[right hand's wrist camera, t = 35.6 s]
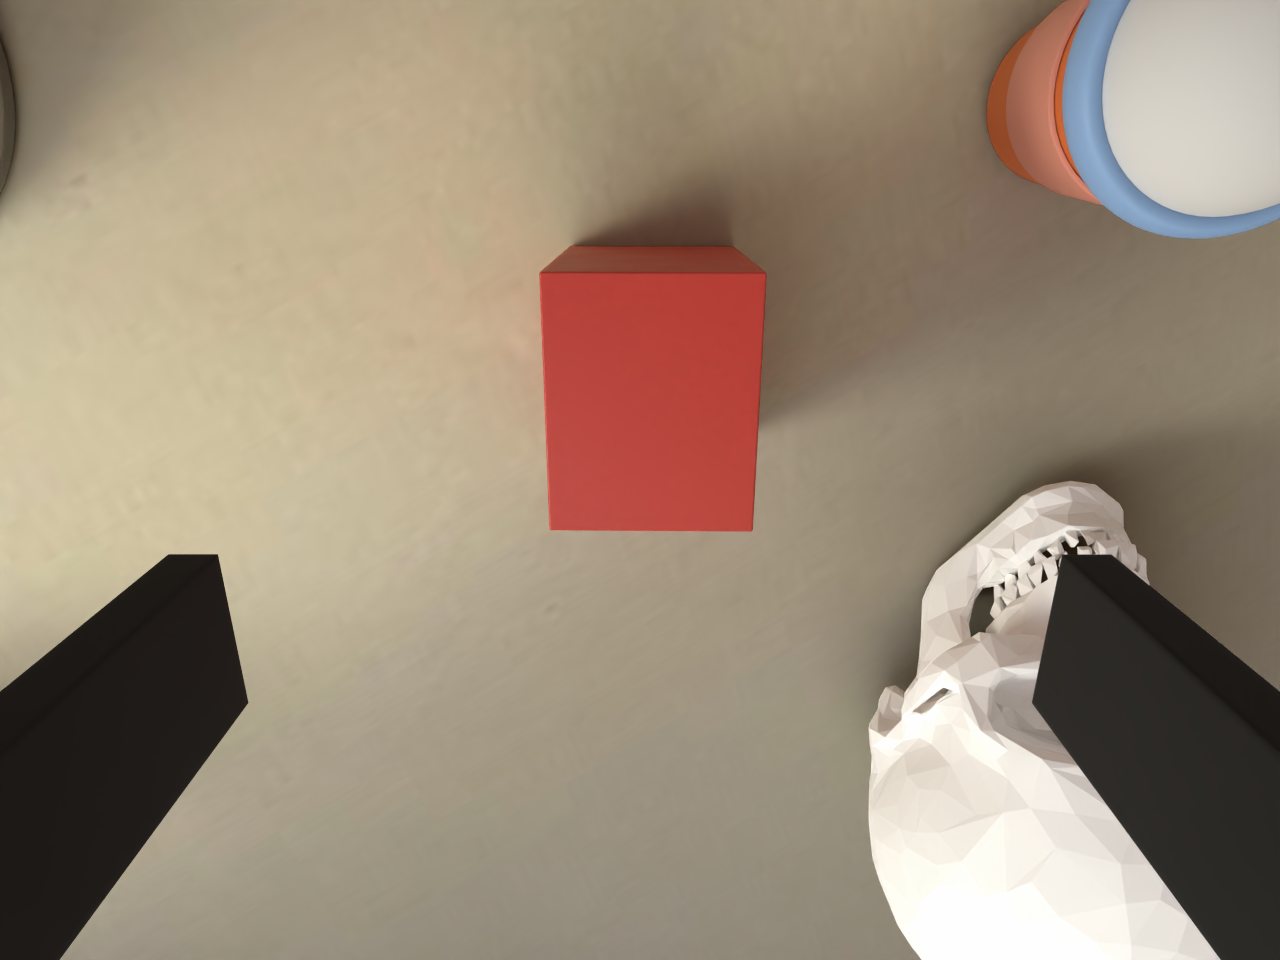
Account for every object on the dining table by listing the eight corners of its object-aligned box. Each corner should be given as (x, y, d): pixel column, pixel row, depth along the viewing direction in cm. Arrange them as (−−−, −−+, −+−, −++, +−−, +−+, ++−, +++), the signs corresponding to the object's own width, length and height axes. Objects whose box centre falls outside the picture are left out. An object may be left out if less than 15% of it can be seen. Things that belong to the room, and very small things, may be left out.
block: (726, 441, 38) (752, 532, 28) (574, 440, 38) (549, 530, 28) (734, 246, 34) (767, 272, 25) (569, 245, 35) (539, 271, 25)
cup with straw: (1205, -31, 31) (1888, -288, 14) (1152, 222, 34) (1654, 265, 17) (963, -31, 31) (1346, -286, 14) (933, 222, 34) (1214, 264, 17)
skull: (1191, 477, 38) (1526, 671, 23) (1061, 845, 45) (1249, 1170, 30) (904, 447, 38) (1051, 621, 23) (823, 819, 45) (893, 1131, 30)
